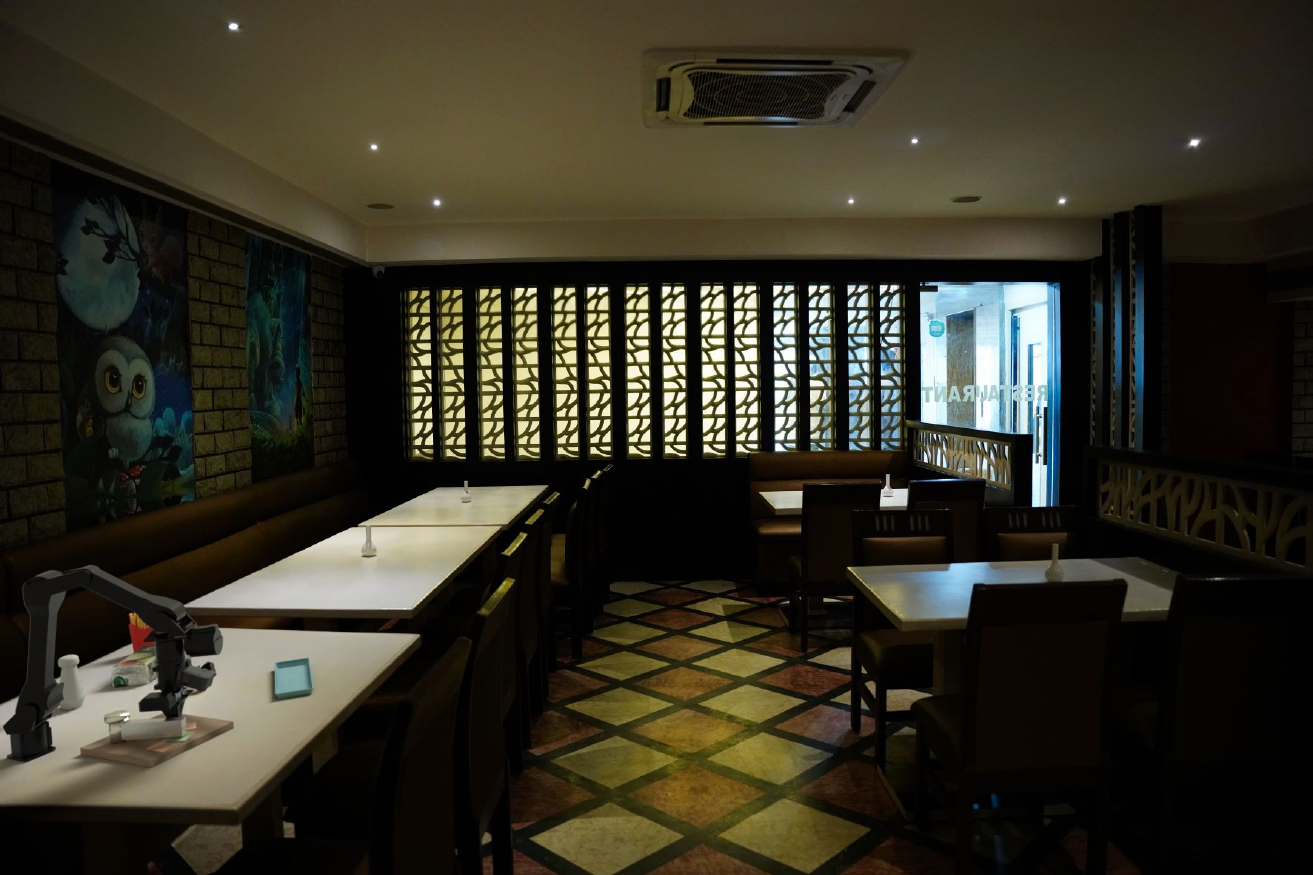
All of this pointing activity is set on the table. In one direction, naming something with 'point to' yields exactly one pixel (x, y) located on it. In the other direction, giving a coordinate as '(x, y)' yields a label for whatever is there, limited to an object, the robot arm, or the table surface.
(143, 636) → the french fries
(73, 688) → the salt shaker
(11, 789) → the table surface
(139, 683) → the juice carton
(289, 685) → the rectangular tray
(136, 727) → the bar with metal cap
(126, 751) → the brown cutting board
